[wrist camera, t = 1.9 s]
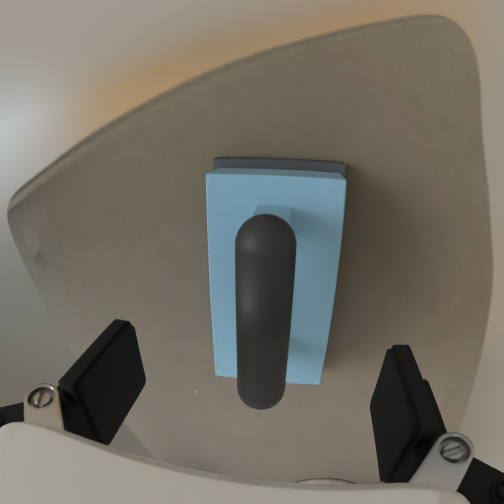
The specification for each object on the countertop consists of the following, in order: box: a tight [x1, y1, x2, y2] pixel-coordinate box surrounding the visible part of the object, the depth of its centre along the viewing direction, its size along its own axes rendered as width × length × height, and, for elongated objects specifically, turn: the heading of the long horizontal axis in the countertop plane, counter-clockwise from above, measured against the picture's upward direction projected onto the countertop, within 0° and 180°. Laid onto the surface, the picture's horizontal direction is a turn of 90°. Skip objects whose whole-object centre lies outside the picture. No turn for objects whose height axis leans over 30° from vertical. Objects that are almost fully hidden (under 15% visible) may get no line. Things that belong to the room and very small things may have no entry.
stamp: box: [206, 157, 347, 410], centre depth 16 cm, size 14×7×8 cm, turn 179°
